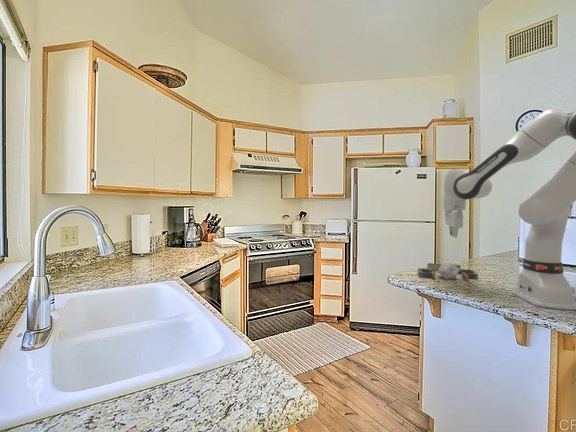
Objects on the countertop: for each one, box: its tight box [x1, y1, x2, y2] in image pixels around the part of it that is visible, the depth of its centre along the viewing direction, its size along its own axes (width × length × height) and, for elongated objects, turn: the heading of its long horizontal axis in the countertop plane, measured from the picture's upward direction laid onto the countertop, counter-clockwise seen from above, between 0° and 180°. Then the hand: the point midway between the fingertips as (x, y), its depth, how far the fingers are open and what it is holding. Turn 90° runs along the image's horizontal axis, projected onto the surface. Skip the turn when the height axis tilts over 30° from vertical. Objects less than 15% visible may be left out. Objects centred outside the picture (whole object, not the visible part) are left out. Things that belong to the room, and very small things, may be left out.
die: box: [437, 261, 459, 280], centre depth 151 cm, size 8×9×10 cm
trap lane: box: [417, 262, 479, 283], centre depth 156 cm, size 19×26×4 cm
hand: (453, 236), depth 142 cm, fingers open, 5 cm apart
